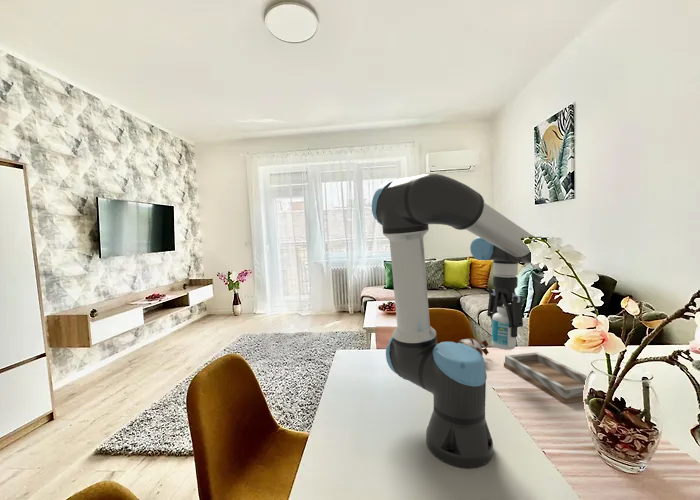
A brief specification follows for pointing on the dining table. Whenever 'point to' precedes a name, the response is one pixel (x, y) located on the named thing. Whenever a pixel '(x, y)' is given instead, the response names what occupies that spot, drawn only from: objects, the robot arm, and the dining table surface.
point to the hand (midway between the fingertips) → (503, 341)
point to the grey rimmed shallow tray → (548, 375)
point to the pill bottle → (500, 329)
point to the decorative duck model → (475, 345)
